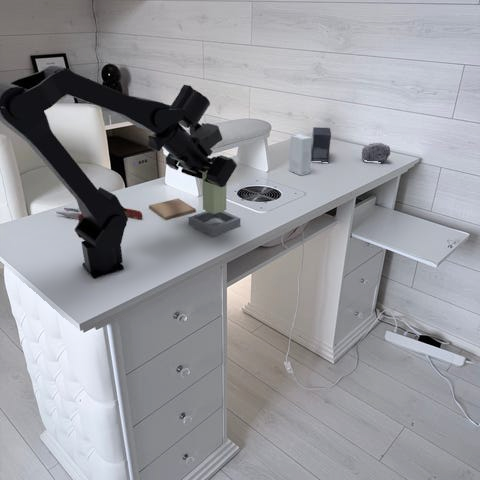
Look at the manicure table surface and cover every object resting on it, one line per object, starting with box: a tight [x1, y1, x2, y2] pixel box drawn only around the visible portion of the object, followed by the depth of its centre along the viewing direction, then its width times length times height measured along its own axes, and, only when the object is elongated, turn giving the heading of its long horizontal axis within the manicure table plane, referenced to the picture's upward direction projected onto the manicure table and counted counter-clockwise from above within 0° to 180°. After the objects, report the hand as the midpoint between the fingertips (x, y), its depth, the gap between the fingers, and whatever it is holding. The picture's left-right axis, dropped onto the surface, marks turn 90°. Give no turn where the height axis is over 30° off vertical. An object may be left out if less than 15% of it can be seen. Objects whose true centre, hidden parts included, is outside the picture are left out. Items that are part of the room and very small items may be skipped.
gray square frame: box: [188, 210, 241, 238], centre depth 108 cm, size 9×9×2 cm
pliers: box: [55, 207, 143, 223], centre depth 109 cm, size 12×21×3 cm, turn 70°
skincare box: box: [288, 133, 312, 176], centre depth 143 cm, size 6×4×12 cm
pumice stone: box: [361, 142, 391, 163], centre depth 158 cm, size 10×8×10 cm
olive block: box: [201, 171, 228, 214], centre depth 104 cm, size 4×4×10 cm
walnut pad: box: [148, 198, 197, 221], centre depth 116 cm, size 9×9×1 cm
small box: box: [310, 126, 332, 163], centre depth 158 cm, size 11×6×10 cm, turn 172°
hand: (218, 182), depth 104 cm, fingers closed on olive block, 4 cm apart
